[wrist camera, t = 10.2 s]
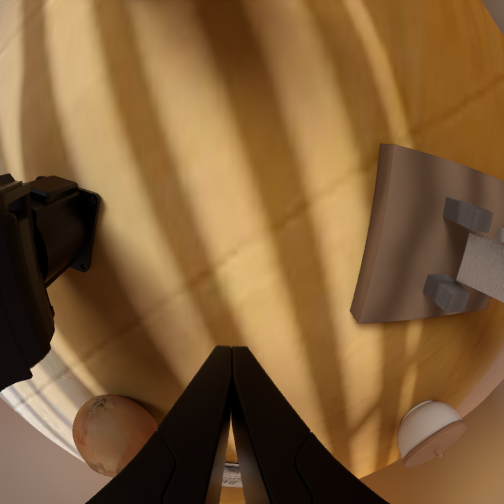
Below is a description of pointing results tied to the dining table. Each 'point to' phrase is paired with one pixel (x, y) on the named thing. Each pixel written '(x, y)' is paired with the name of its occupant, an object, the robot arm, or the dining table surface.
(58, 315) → the dining table surface
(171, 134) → the dining table surface
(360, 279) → the lever base
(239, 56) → the dining table surface
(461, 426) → the lidded jar
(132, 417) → the onion
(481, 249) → the lever
